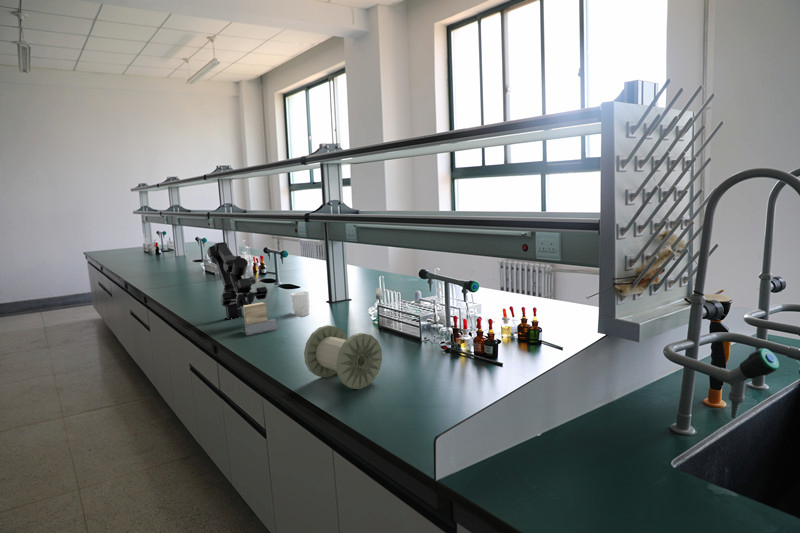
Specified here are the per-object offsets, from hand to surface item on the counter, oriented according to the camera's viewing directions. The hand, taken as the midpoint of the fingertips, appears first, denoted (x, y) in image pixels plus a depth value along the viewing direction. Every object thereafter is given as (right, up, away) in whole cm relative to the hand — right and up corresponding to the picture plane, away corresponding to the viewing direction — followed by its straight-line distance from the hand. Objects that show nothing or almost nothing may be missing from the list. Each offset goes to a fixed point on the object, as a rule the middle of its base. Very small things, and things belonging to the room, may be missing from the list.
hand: (250, 312), depth 215 cm
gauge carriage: (+4, -6, -5) cm, 9 cm away
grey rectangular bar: (+7, -7, -9) cm, 14 cm away
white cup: (+18, -3, +20) cm, 27 cm away
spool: (+46, -14, -65) cm, 81 cm away
